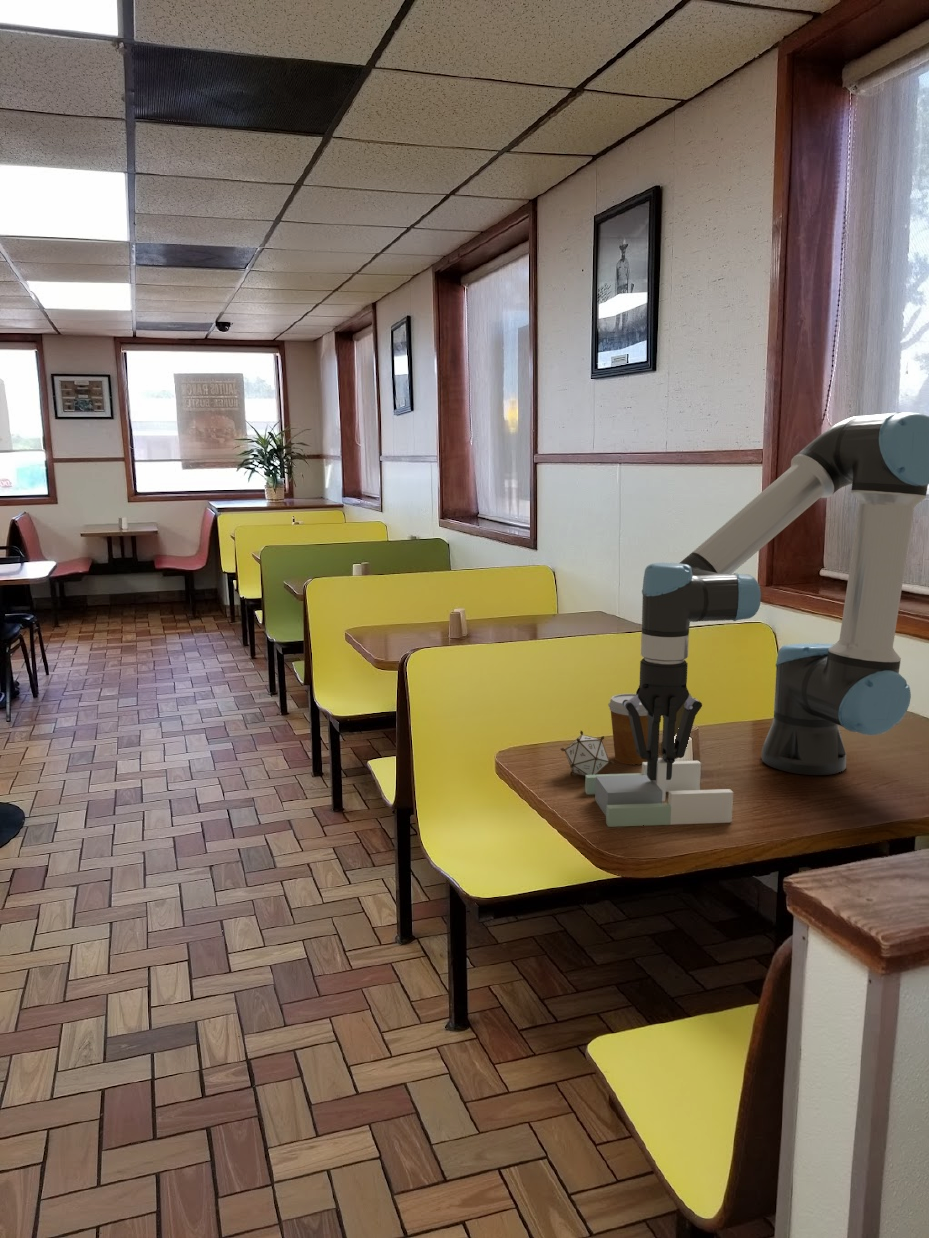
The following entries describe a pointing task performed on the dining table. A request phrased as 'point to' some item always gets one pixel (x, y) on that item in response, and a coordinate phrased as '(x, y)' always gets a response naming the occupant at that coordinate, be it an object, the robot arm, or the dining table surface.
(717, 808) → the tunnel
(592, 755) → the game die
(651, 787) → the slate block
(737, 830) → the dining table surface
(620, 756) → the disposable coffee cup
